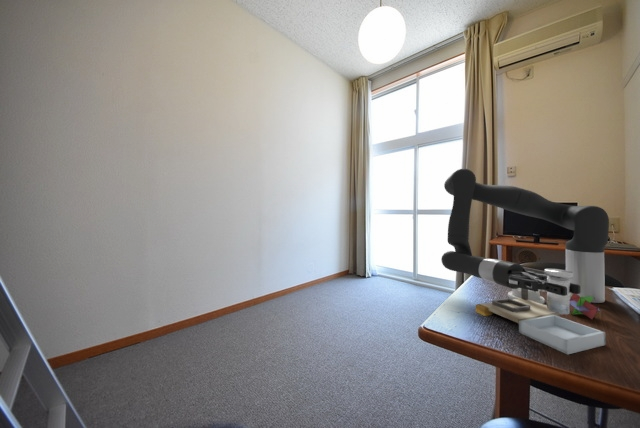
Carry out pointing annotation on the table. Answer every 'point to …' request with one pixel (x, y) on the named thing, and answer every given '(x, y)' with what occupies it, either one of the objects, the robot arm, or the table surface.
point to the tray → (562, 333)
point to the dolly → (516, 306)
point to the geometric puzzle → (583, 305)
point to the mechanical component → (531, 295)
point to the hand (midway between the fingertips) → (572, 290)
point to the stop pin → (554, 300)
